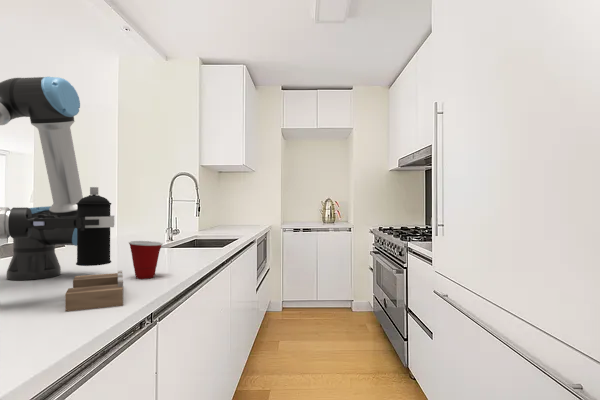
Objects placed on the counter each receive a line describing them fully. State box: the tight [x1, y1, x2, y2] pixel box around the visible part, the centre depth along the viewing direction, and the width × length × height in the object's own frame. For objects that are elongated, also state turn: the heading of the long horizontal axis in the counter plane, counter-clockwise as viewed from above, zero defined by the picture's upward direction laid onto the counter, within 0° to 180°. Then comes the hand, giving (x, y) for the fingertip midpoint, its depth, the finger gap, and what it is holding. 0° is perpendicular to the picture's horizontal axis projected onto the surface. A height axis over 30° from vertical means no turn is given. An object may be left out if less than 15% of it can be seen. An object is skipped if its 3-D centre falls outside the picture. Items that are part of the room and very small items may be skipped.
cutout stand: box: [64, 270, 124, 312], centre depth 103 cm, size 24×12×5 cm, turn 25°
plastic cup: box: [128, 240, 164, 280], centre depth 130 cm, size 11×11×12 cm
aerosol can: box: [75, 186, 112, 267], centre depth 103 cm, size 8×8×20 cm
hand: (114, 221), depth 105 cm, fingers closed on aerosol can, 8 cm apart
